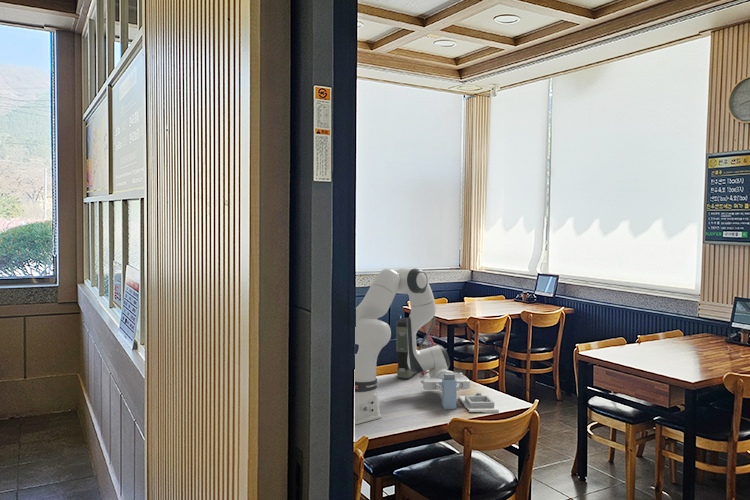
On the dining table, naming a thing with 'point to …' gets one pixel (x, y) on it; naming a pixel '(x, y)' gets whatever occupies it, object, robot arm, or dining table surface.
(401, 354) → the device
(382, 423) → the dining table surface
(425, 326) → the dna model
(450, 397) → the blue-gray rectangular block
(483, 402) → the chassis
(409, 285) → the robot arm
